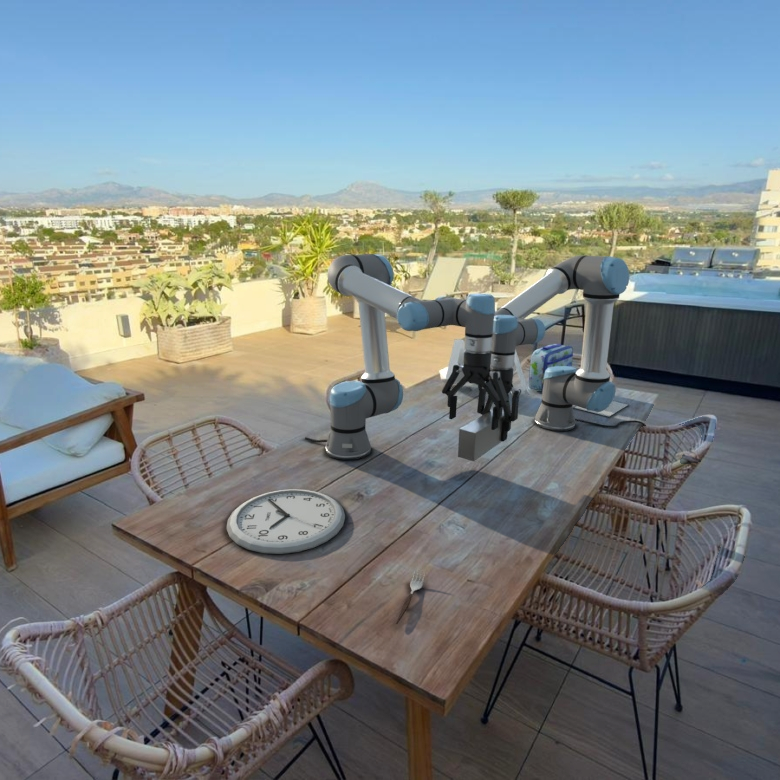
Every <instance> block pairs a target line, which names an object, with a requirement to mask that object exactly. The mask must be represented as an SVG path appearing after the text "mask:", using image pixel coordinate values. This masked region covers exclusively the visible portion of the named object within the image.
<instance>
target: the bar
mask: <svg viewBox="0 0 780 780" xmlns="http://www.w3.org/2000/svg"><path fill="white" fill-rule="evenodd" d="M492 414H493V409H490V411H489V412H488V413H486V414H484V415H483V416H482V415H481V416H479V417H477V418H476V419H474V420H472V421H471V422H468V423H466V424H465V425H464V426H462V427H460V428H459V430H458V447H457V449H458V450H457V457H458V458H461V459H464V460H467V461H471V462H476V461H477V460H478V459H480V458H481V457H483V456H484V455H485V454H487V453H488V452H490V451H491V450H492V449H494V448H495V447H496V446H498V445H499V444H501V443H502V441H501V435H502V424H503V421H504V420H505V417H504V411H503V410H502V417H501V418H500V419H499V422H498V428H496V429H495V430H491V427H492ZM508 432H509V431H508ZM508 432H507V435H508V434H509V433H508Z"/></svg>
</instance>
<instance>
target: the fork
mask: <svg viewBox="0 0 780 780" xmlns="http://www.w3.org/2000/svg"><path fill="white" fill-rule="evenodd" d="M420 570H421V572H420ZM423 570H424V569H420V568H418V572H417V569H415V570H414V573H413V576H412V579H411V581H410V583H409V586H410V590H411V591H410V593H409V594H408V596H407V597H406V598H405V600H404V601H403V603H402V605H401V609H400V612H399V615H398V617H397V620H396V625H398V624H399V622H400V620H401V619H402V617H403V616H404V614H405V613H406V612H407V610H408V608H409V606H410V604H411V600H412V597H413V594H414V592H416V591H419V590H420V589H422V587H423V585H424V581H425V576H426V571H427V570H426V569H425V570H424V574H423ZM416 572H417V574H416ZM419 574H420V575H419ZM422 575H423V576H422Z"/></svg>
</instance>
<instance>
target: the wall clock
mask: <svg viewBox="0 0 780 780" xmlns="http://www.w3.org/2000/svg"><path fill="white" fill-rule="evenodd" d="M345 520H346V515H345V511H344V508H343V507H342V505H341V504H340V503H339V502H338V501H337V500H336V499H334V498H333V497H331V496H329V495H327V494H324V493H322V492H319V491H315V490H309V489H298V488H297V489H295V488H292V489H289V488H288V489H280V490H279V489H278V490H274V491H270V492H269V491H268V492H265V493H262V494H260V495H257V496H254V497H252V498H250V499H248V500H246V501H245V502H243V503H241V504H240V505H239V506H237V508H236V509H234V510H233V511H232V512H231V514H230V516H229V517H228V519H227V522H226V531H227V534H228V537H229V538H230V539H231V540H232V541H233V542H234V543H235V544H236V545H238V546H240V547H242V548H244V549H246V550H248V551H253V552H256V553H261V554H271V555H273V554H274V555H281V554H282V555H283V554H291V553H300V552H303V551H306V550H311V549H314V548H316V547H318V546H320V545H322V544H325V543H328V541H330V540H332V538H334V537H335V536H336V535H338V533H339V532H340V531H341V530H342V528H343V527H344V524H345Z"/></svg>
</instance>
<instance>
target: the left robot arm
mask: <svg viewBox="0 0 780 780" xmlns="http://www.w3.org/2000/svg"><path fill="white" fill-rule="evenodd" d="M326 277H327V280H328V283H329V285H330V287H331V288H332V289H333V290H334V291H335V292H337V293H338V294H341V295H343V296H345V297H353V299H355V300H356V301H357V303H358V304H357V305H358V314H359V325H360V335H361V336H360V337H361V344H362V345H361V346H362V356H363V366H364V373H363V374H362V375H361V376H360V380H350V381H349V380H346V381H342V382H339V383H337V384H336V385H334V386H333V387H332V388H331V390H330V394H329V404H330V405H329V407H330V411H329V412H330V430H329V435H328V437H327V439H313V438H310V437H308V436H307V437H306V436H305V437H304V440H306V441H309V442H313V443H325V453H326V455H327V456H329V457H330V458H333V459H336V460H341V461H353V460H359V459H363V458H366V457H367V456H369V455H370V454H371V451H372V446H371V442H370V439H369V436H368V433H367V430H366V423H367V421H366V420H367V419H370V418H373V417H377V416H380V415H384V414H389V413H391V412H393V411H395V410H398V409H399V408H400V406H401V405H402V402H403V398H404V389H403V385H402V384H401V382H400V381H399V380H398V378H396V375H395V372H393V371H392V370H391V368H390V356H389V346H388V345H389V343H388V334H387V333H388V332H387V321H386V314H387V315H388V316H390V317H392V318H394V319H396V320H397V322H398V325H400V328H401V329H402V330H403V331H405V332H419V331H422V330H423V331H424V330H428V329H429V330H430V329H433V328H441V327H448V326H454V327H461V328H464V329H465V330H464V342H465V345H464V349H465V350H466V351H465V352H464V360H463V363H464V366H461V364H456V365H454V366H453V371H452V373H451V375H450V377H449V379H448V381H447V383H446V384H444V387H443V388H442V390H441V393H442V395H446V396H447V407H448V408H449V413H448V419H449V420H453V419H455V418H457V409H458V407H457V405H458V395H456V394H457V393H458V392H459V391H460V390H461V389H462V388H463V387H464V386H465V385H466V384H467V382H468V384H474V385H476V386H478V385H480V384H481V385H482V387H483V388H485V390H486V394H487V396H488V395H489V396H490V398H491V400H492V401H493V405H494V406H492V410H493V414H492V427H491V430H495V429H496V428H498V422H499V419H500V418H501V417H502V411H503V407H506V406H508V405H509V404H510V405H511V402H510V398H509V399H508V396H507V394H506V391H505V388H504V385H503V383H502V380H501V372H500V371H497V372H494V371H491V370H490V365H491V352H490V351H491V350H492V336H493V323H494V314H495V311H496V306H495V305H496V299H495V296H494V295H492V294H489V293H470V294H468V295H467V296H466V299H462V298H457V297H451V296H438V297H436V298H435V299H431V300H430V299H429V300H423V299H420V298H417V297H415V296H413V295H410V294H409V293H407V292H404V291H402V290H400V289H398V288H396V287H395V286H392V284H393V281H394V269H393V266H392V264H391V262H390V261H389V260H388V259H387V257H385V256H384V255H382V254H376V253H363V254H343V255H339V256H338V257H336V258H334V259H333V260H332V261H331V263H330V264H329V266H328V268H327V276H326ZM461 371H462V372H463V374H464V375H465V376H464V377H463V378H462V379H461V380H460V381H459V382H458V383H457V384H454V382H455V380H456V378H457V377H458V375H459V373H460V372H461ZM490 376H491V377H492V379H493V381H494V385H495V387H496V390H497V392H496V391H495V389H494V387H493V386H492V384H491V381H490V379H489V377H490ZM485 382H486V383H485ZM452 387H453V388H452ZM497 393H498V394H497Z"/></svg>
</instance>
